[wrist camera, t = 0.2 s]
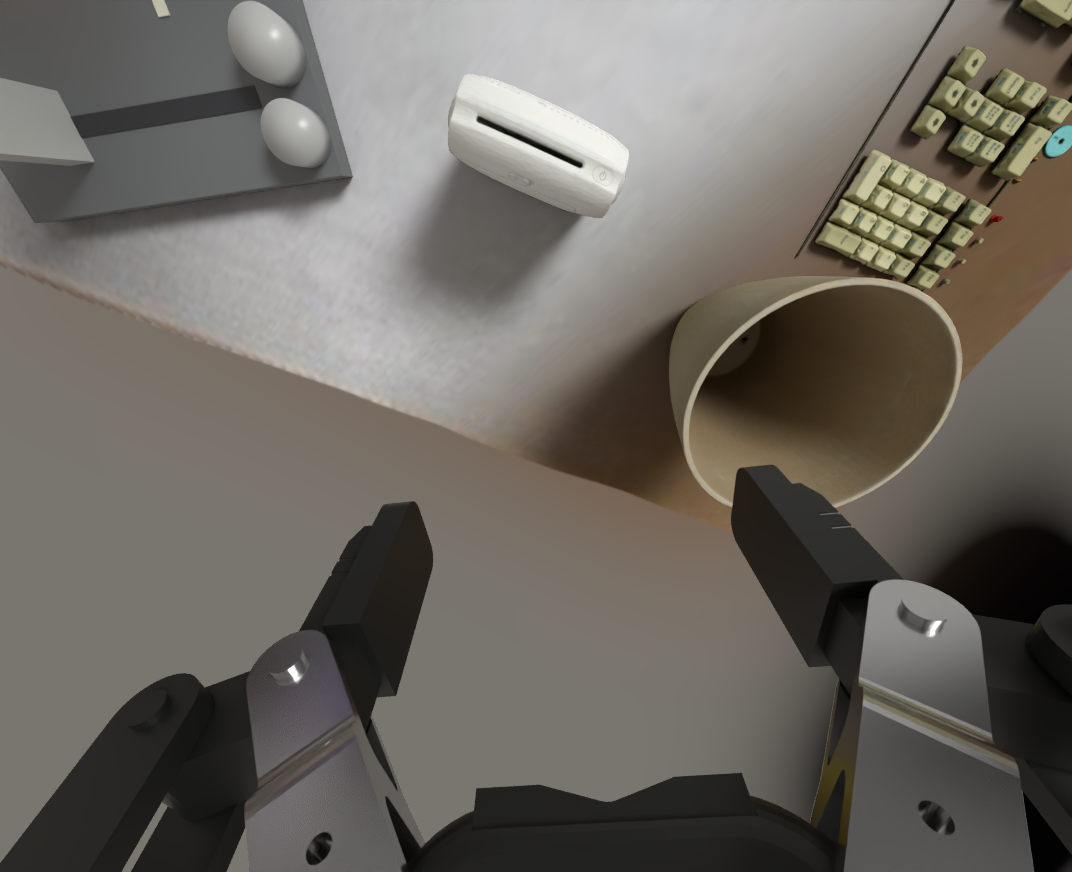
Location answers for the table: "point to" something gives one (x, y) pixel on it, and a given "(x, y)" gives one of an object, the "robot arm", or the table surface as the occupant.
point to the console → (160, 103)
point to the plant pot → (812, 382)
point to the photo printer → (535, 146)
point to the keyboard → (985, 119)
